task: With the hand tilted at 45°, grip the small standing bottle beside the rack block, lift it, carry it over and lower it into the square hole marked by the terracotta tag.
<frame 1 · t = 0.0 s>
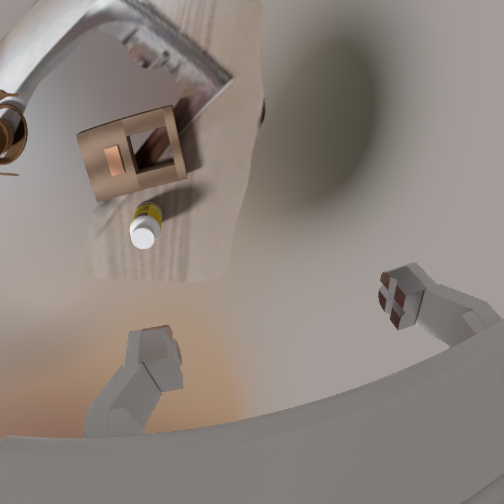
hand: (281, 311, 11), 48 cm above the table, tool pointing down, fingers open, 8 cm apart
supplement bottle: (148, 213, 59), on the table
rack block: (133, 151, 52), on the table
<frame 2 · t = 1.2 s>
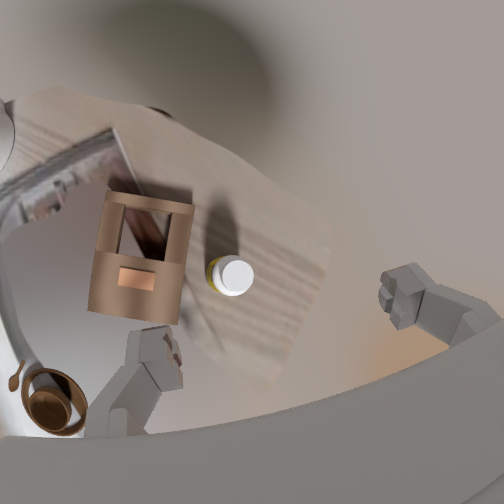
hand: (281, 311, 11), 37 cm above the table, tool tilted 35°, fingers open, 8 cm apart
place setting: (49, 417, 39), on the table
supplement bottle: (222, 274, 49), on the table
rack block: (140, 258, 45), on the table
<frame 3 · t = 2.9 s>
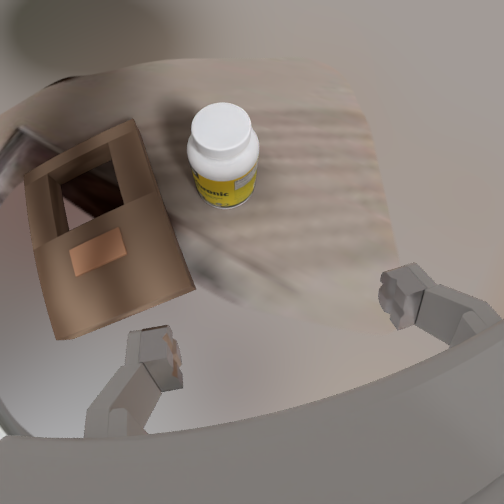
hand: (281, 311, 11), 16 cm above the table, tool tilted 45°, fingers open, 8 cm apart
supplement bottle: (225, 184, 30), on the table
rack block: (102, 230, 28), on the table
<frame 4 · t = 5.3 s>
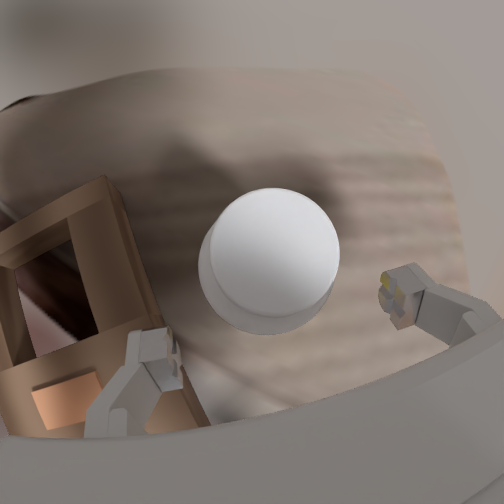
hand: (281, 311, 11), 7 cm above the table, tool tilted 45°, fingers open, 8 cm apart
supplement bottle: (257, 284, 19), on the table
rack block: (75, 349, 18), on the table
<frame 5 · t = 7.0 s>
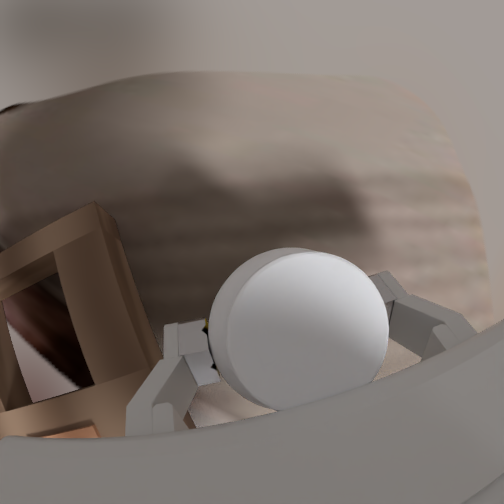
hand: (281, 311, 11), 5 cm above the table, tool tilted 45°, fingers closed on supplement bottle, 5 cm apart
supplement bottle: (271, 326, 17), on the table, touching gripper
rack block: (71, 391, 15), on the table
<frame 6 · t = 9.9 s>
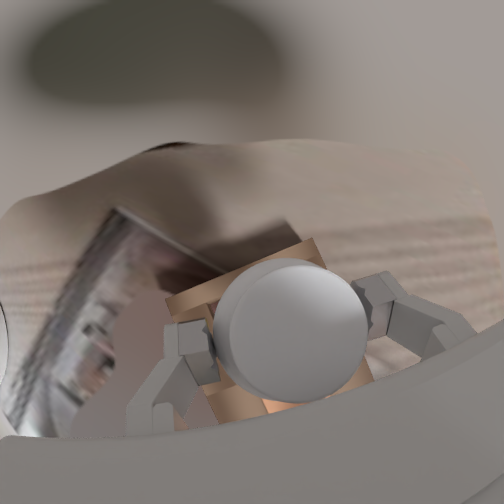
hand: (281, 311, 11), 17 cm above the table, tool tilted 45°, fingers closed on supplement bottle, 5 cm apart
supplement bottle: (268, 326, 18), point 10 cm above the table, touching gripper
rack block: (278, 361, 27), on the table
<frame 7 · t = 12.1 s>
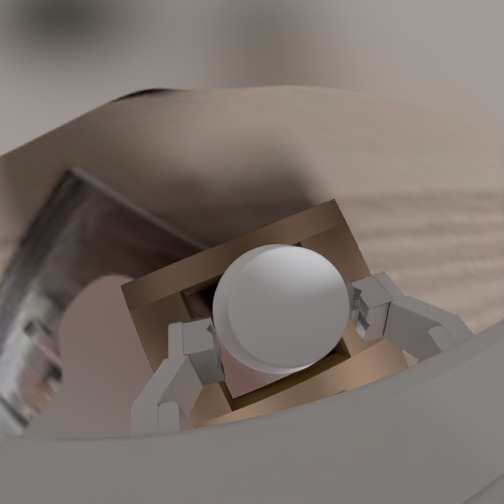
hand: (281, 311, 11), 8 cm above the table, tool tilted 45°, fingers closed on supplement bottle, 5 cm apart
supplement bottle: (264, 313, 20), resting in rack block, touching gripper
rack block: (285, 377, 19), on the table
when the fingers open (7 cm above the table, at t = 13.0 s): supplement bottle stays where it is, resting in rack block.
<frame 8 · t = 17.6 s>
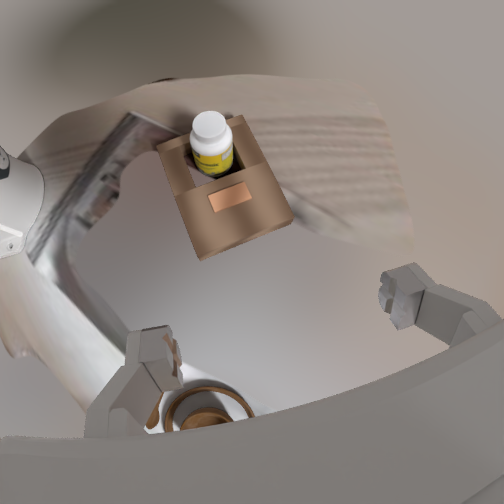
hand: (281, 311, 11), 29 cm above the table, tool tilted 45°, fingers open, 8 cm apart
place setting: (203, 450, 37), on the table
supplement bottle: (214, 162, 45), resting in rack block
rack block: (222, 187, 44), on the table
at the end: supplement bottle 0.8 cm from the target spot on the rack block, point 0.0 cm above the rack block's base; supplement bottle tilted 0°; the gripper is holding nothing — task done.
